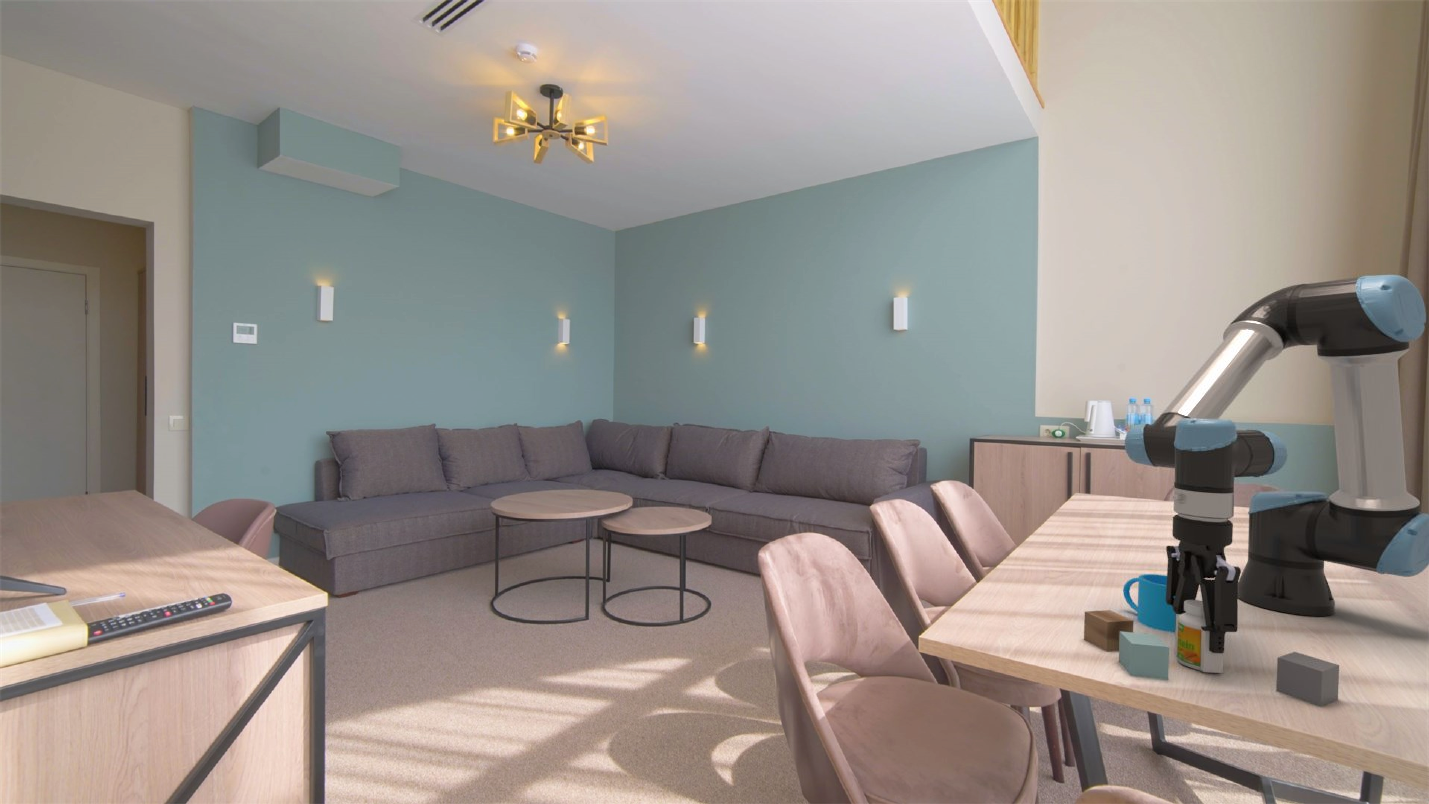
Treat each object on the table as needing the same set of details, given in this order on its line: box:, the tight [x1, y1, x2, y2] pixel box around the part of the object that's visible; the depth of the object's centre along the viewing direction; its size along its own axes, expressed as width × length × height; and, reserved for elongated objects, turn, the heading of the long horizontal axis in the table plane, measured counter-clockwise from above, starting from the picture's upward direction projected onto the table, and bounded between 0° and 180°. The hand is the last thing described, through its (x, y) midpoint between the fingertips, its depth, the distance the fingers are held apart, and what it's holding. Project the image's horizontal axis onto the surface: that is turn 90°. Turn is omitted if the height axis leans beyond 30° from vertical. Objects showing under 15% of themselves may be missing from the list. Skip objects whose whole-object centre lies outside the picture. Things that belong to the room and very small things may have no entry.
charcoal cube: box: [1275, 651, 1340, 708], centre depth 91 cm, size 5×5×5 cm
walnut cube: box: [1083, 609, 1134, 652], centre depth 109 cm, size 5×5×5 cm
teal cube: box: [1118, 631, 1170, 681], centre depth 99 cm, size 5×5×5 cm
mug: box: [1122, 573, 1176, 633], centre depth 120 cm, size 12×8×8 cm
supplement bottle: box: [1176, 599, 1215, 671], centre depth 101 cm, size 5×5×10 cm
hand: (1197, 662), depth 101 cm, fingers closed on supplement bottle, 5 cm apart
